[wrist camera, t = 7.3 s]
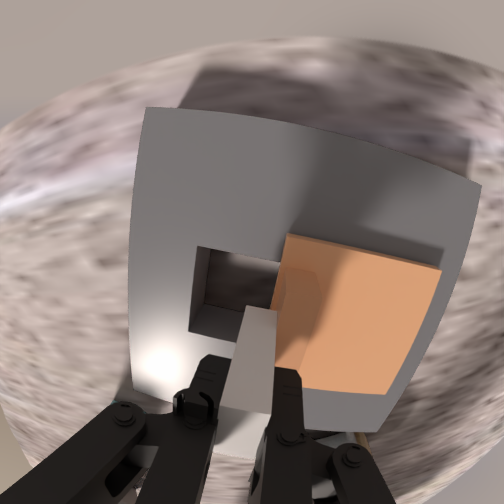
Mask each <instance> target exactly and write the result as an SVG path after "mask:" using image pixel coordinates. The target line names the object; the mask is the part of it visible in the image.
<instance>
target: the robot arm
mask: <svg viewBox="0 0 504 504" xmlns="http://www.w3.org/2000/svg"><path fill="white" fill-rule="evenodd" d="M276 328H277V311H274V310H269V309H263V308H258V307H253V306H248V305H246V309H245V313H244V316H243V320H242V324H241V328H240V331H239V335H238V339H237V343H236V346H235V350H234V354H233V357H232V359H230V358H225V357H221V356H216V355H212V354H208V355H206V356H205V357H204V358H202V359H201V360H200V362H199V365H198V367H197V370H196V372H195V374H194V377H193V379H192V381H191V383H190V386H189V388H185V389H182V390H180V391H178V392H177V393H176V394H175V395H174V396H173V412H171V413H168V414H144V412H143V410H142V409H141V408H140V407H139V406H137V405H135V404H133V403H130V402H123V401H121V402H115V403H113V404H111V405H109V406H108V407H106V408H105V409H104V410H103V411H102V412H101V413H99V414H98V415H97V416H96V417H95V418H93V419H92V420H91V421H90V422H89V423H88V424H86V425H85V426H84V427H83V428H82V429H80V430H79V431H78V432H77V433H76V434H74V435H73V436H72V437H71V438H70V439H69V440H67V441H66V442H65V443H64V444H62V445H61V446H60V447H59V448H58V449H56V450H55V451H54V452H53V453H52V454H50V455H49V456H48V457H47V458H45V459H44V460H43V461H42V462H41V463H39V464H38V465H37V466H36V467H34V468H33V469H32V470H31V471H29V472H28V473H27V474H26V475H25V476H23V477H22V478H21V479H19V480H18V481H17V482H16V483H14V484H13V485H12V486H11V487H9V488H8V489H7V490H6V491H4V492H3V493H2V494H0V504H118V503H119V502H120V501H121V500H122V499H123V497H124V496H125V495H126V494H127V493H128V492H129V491H130V490H131V488H132V487H133V486H134V485H135V484H136V483H137V482H138V480H139V479H140V478H141V477H142V476H143V475H144V473H145V472H146V471H147V470H148V469H149V468H150V469H149V471H148V474H147V476H146V478H145V481H144V483H143V486H142V488H141V490H140V493H139V495H138V497H137V500H136V502H135V504H200V501H201V497H202V493H203V489H204V485H205V481H206V478H207V474H208V470H209V466H210V460H211V456H212V452H214V453H219V454H224V455H229V456H234V457H240V458H245V459H252V460H254V459H255V457H256V460H255V466H254V469H253V471H252V474H251V476H250V478H249V482H251V483H250V490H249V497H248V503H247V504H396V502H395V500H394V499H393V497H392V495H391V493H390V491H389V489H388V487H387V485H386V483H385V481H384V479H383V477H382V475H381V473H380V471H379V469H378V467H377V465H376V463H375V461H374V459H373V457H372V455H371V454H370V452H369V451H368V450H367V449H366V448H365V447H363V446H361V445H359V444H356V443H344V444H341V445H339V446H338V447H337V448H333V447H329V446H326V445H323V444H321V443H318V442H316V441H315V440H313V439H312V438H311V437H310V436H309V434H308V433H307V432H306V430H305V427H304V410H303V398H302V397H303V391H302V378H301V377H300V375H299V373H298V372H297V370H295V369H289V368H282V367H276V366H274V365H275V347H276Z"/></svg>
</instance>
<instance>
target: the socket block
mask: <svg viewBox="0 0 504 504" xmlns="http://www.w3.org/2000/svg"><path fill="white" fill-rule="evenodd" d="M481 188H482V185H480V184H478V183H476V182H473V181H471V180H469V179H467V178H465V177H462V176H460V175H458V174H456V173H453V172H451V171H449V170H446V169H444V168H441V167H439V166H436V165H434V164H431V163H429V162H426V161H424V160H421V159H418V158H415V157H413V156H410V155H407V154H404V153H401V152H398V151H395V150H392V149H389V148H386V147H383V146H380V145H377V144H373V143H370V142H367V141H363V140H360V139H356V138H353V137H349V136H345V135H342V134H338V133H334V132H330V131H326V130H321V129H317V128H313V127H308V126H303V125H299V124H294V123H289V122H283V121H278V120H272V119H267V118H261V117H254V116H247V115H240V114H233V113H225V112H216V111H206V110H195V109H181V108H163V107H146V110H145V115H144V120H143V126H142V131H141V137H140V143H139V150H138V156H137V163H136V171H135V179H134V188H133V197H132V208H131V220H130V236H129V257H128V322H129V344H130V358H131V370H132V381H133V390H135V391H138V392H141V393H144V394H147V395H150V396H153V397H156V398H159V399H162V400H165V401H169V402H172V403H173V396H174V395H175V394H176V393H177V392H178V391H180V390H182V389H185V388H189V386H190V383H191V381H192V379H193V377H194V374H195V372H196V370H197V367H198V365H199V362H200V360H201V359H202V358H204V357H205V356H206V355H208V354H212V355H216V356H221V357H225V358H230V359H232V357H233V354H234V350H235V346H236V343H237V339H238V335H239V331H240V328H241V324H242V320H243V316H244V313H243V312H239V311H234V310H229V309H225V308H220V307H216V306H212V305H207V304H204V298H205V290H206V282H207V274H208V267H209V260H210V253H211V249H216V250H221V251H226V252H231V253H236V254H241V255H246V256H251V257H256V258H260V259H265V260H270V261H275V262H281V257H282V253H283V248H284V244H285V239H286V234H287V233H290V234H295V235H300V236H305V237H310V238H314V239H319V240H324V241H328V242H333V243H338V244H342V245H347V246H351V247H356V248H360V249H365V250H369V251H373V252H378V253H382V254H386V255H391V256H395V257H399V258H404V259H408V260H412V261H416V262H420V263H425V264H429V265H433V266H436V267H438V268H439V269H440V270H442V273H441V276H440V279H439V281H438V284H437V287H436V290H435V292H434V295H433V298H432V300H431V303H430V305H429V308H428V310H427V313H426V315H425V317H424V320H423V322H422V324H421V327H420V329H419V331H418V333H417V335H416V338H415V340H414V342H413V344H412V346H411V348H410V350H409V352H408V354H407V356H406V358H405V360H404V362H403V364H402V366H401V368H400V370H399V371H398V373H397V375H396V377H395V379H394V381H393V382H392V384H391V386H390V388H389V389H388V391H387V393H386V394H385V395H383V394H364V393H350V392H338V391H329V390H320V389H311V388H304V387H302V391H303V397H302V398H303V410H304V427H305V429H311V430H324V431H341V432H377V431H378V430H379V428H380V427H381V425H382V424H383V422H384V421H385V420H386V418H387V417H388V415H389V414H390V412H391V411H392V409H393V408H394V406H395V405H396V403H397V401H398V400H399V398H400V397H401V395H402V393H403V392H404V390H405V388H406V387H407V385H408V383H409V382H410V380H411V378H412V377H413V375H414V373H415V371H416V369H417V368H418V366H419V364H420V362H421V360H422V358H423V356H424V354H425V352H426V350H427V348H428V346H429V344H430V342H431V340H432V338H433V336H434V334H435V332H436V330H437V328H438V325H439V323H440V321H441V319H442V316H443V314H444V312H445V309H446V307H447V304H448V302H449V299H450V297H451V294H452V292H453V289H454V286H455V284H456V281H457V278H458V275H459V272H460V269H461V266H462V263H463V260H464V257H465V254H466V250H467V247H468V244H469V240H470V236H471V233H472V229H473V225H474V221H475V217H476V212H477V208H478V203H479V198H480V193H481Z"/></svg>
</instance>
